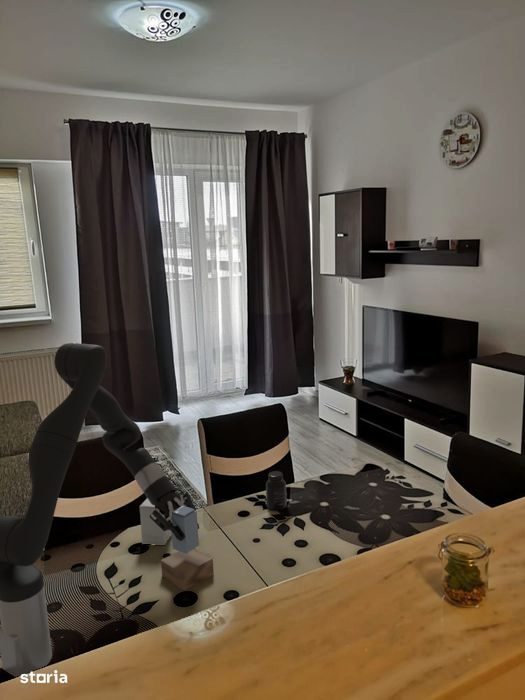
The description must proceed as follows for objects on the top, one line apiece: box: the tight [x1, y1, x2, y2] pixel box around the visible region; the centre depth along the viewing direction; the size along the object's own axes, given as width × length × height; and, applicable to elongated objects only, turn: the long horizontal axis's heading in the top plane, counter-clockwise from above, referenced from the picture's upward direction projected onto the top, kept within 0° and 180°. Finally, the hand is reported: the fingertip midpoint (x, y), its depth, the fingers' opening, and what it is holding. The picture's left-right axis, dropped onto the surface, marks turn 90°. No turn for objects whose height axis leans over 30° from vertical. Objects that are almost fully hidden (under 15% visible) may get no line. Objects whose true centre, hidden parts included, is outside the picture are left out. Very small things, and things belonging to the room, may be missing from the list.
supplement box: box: [139, 497, 172, 545], centre depth 172 cm, size 7×7×13 cm
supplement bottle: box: [265, 470, 288, 512], centre depth 192 cm, size 7×7×12 cm
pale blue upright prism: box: [171, 506, 200, 554], centre depth 152 cm, size 5×5×11 cm
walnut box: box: [160, 548, 214, 591], centre depth 153 cm, size 10×10×5 cm
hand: (190, 534), depth 151 cm, fingers closed on pale blue upright prism, 5 cm apart
